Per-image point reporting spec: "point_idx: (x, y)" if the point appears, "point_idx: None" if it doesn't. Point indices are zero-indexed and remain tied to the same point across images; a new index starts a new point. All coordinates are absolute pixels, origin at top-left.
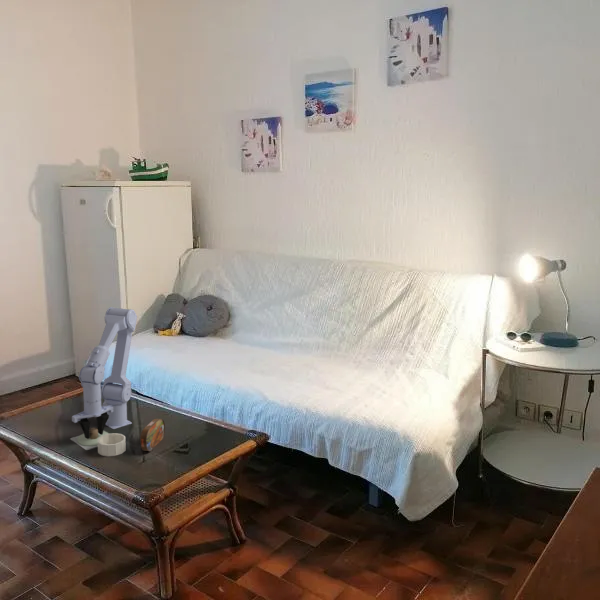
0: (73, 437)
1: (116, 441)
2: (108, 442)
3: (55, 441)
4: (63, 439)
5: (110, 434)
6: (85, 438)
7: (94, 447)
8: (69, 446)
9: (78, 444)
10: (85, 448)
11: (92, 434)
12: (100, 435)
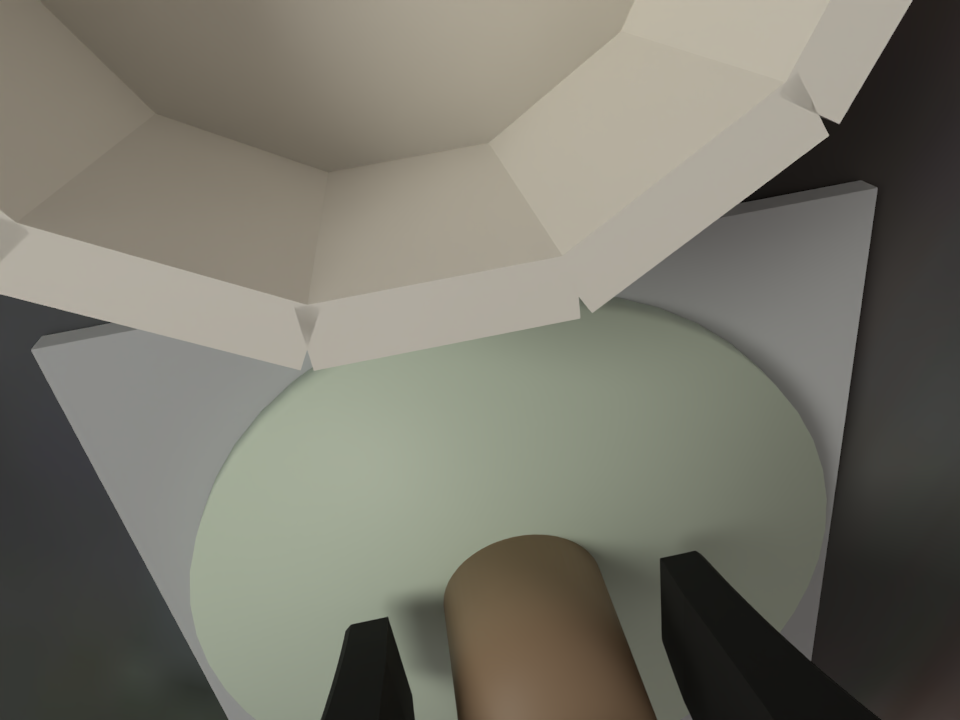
0: None
1: (84, 101)
2: (337, 194)
3: (952, 694)
4: None
5: (230, 281)
6: None
7: None
8: (931, 505)
9: (832, 488)
10: (842, 273)
11: (606, 630)
12: None
